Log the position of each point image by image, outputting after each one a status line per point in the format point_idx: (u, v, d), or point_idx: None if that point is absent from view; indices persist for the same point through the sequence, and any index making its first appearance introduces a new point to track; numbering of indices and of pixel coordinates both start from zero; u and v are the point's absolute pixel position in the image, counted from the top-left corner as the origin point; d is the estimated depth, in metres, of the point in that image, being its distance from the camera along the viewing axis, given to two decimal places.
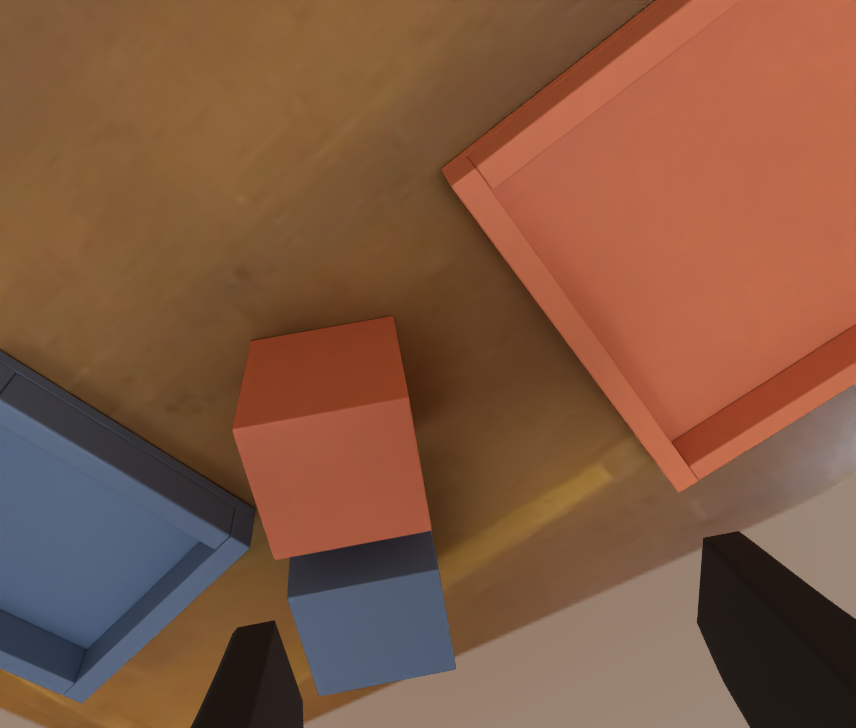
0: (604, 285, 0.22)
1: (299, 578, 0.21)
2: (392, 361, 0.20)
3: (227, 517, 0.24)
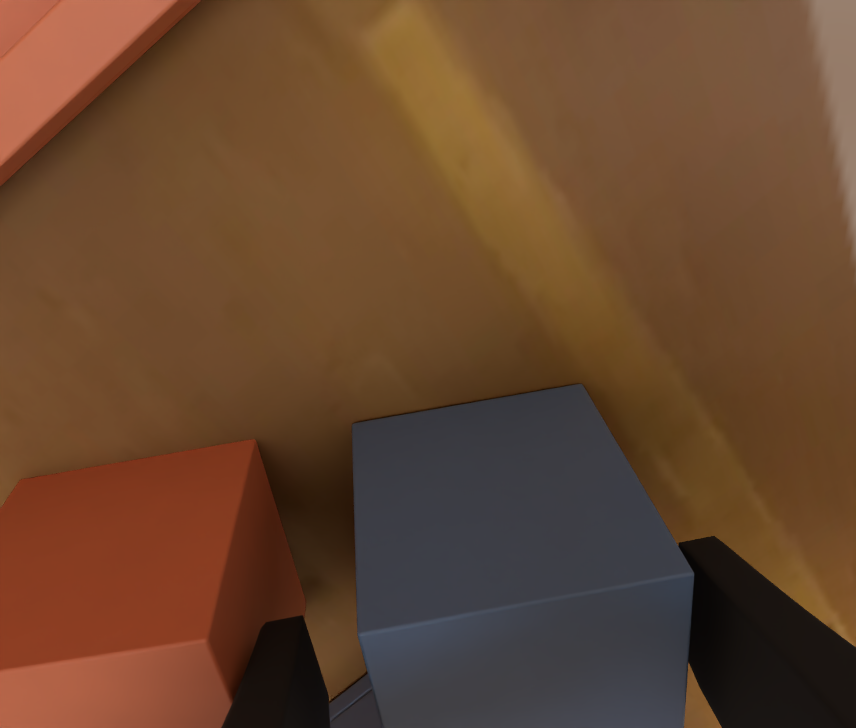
0: None
1: None
2: None
3: None
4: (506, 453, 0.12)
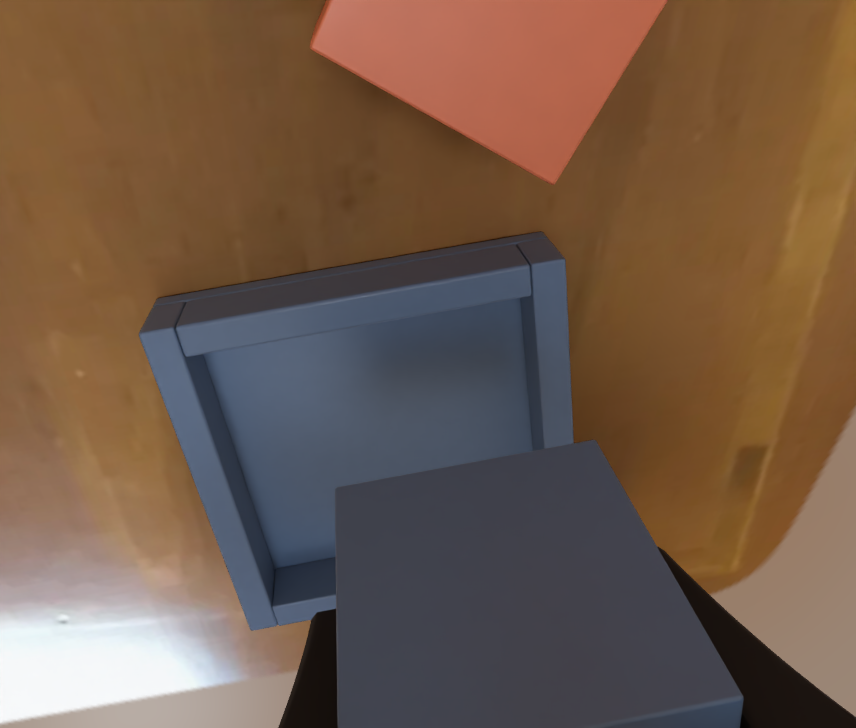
0: None
1: None
2: None
3: (512, 254, 0.17)
4: (511, 529, 0.10)
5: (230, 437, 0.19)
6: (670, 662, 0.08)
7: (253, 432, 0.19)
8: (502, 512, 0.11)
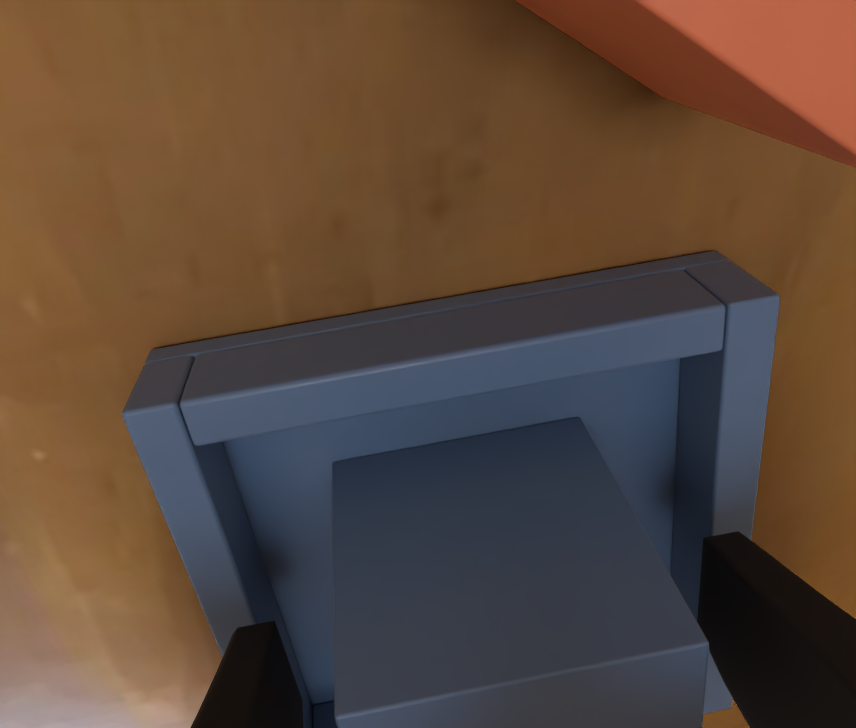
0: None
1: None
2: None
3: (689, 287, 0.11)
4: (499, 497, 0.11)
5: (256, 542, 0.13)
6: (643, 613, 0.09)
7: (288, 534, 0.13)
8: (490, 483, 0.11)
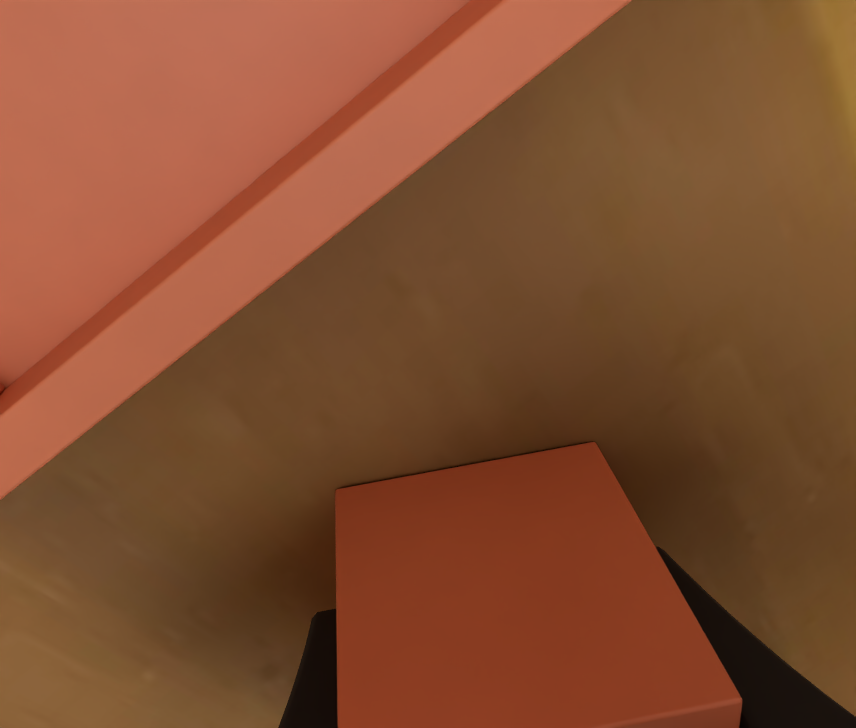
0: (226, 71, 0.08)
1: None
2: (338, 641, 0.10)
3: None
4: None
5: None
6: None
7: None
8: None
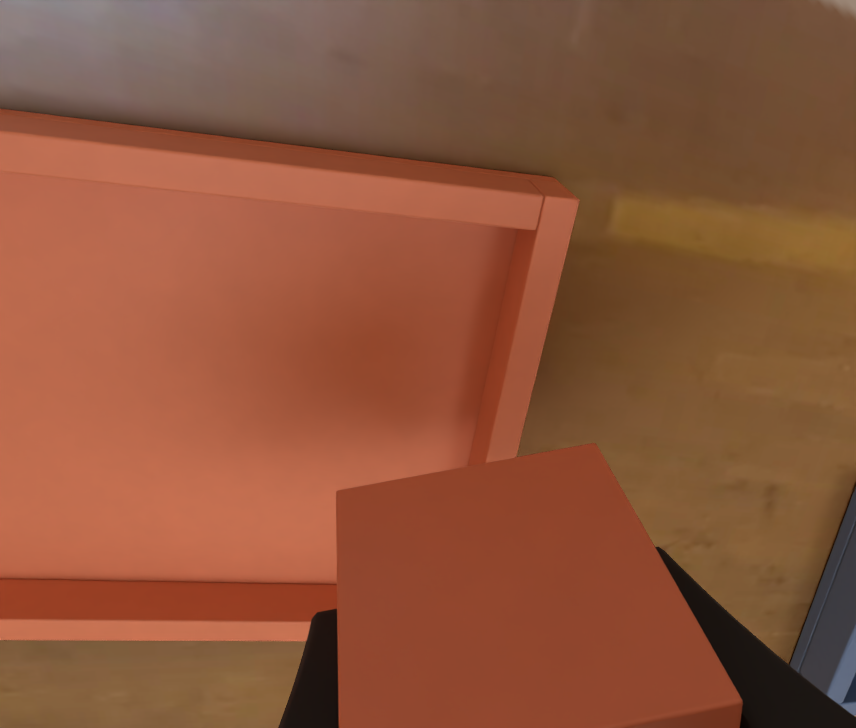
0: (431, 448, 0.20)
1: None
2: (340, 642, 0.10)
3: None
4: None
5: None
6: None
7: None
8: None
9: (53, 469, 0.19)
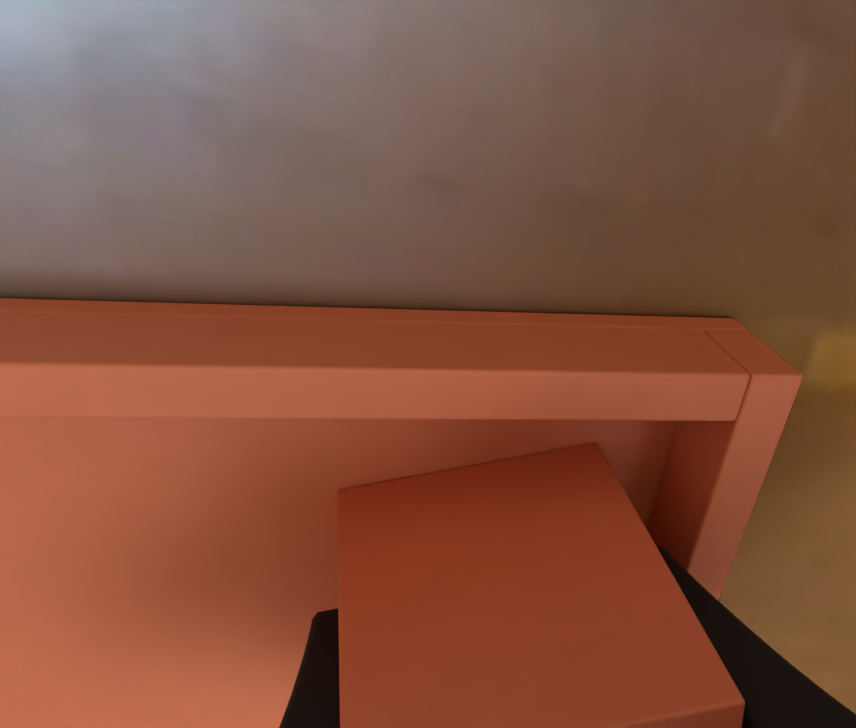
0: None
1: None
2: (341, 642, 0.10)
3: None
4: None
5: None
6: None
7: None
8: None
9: None
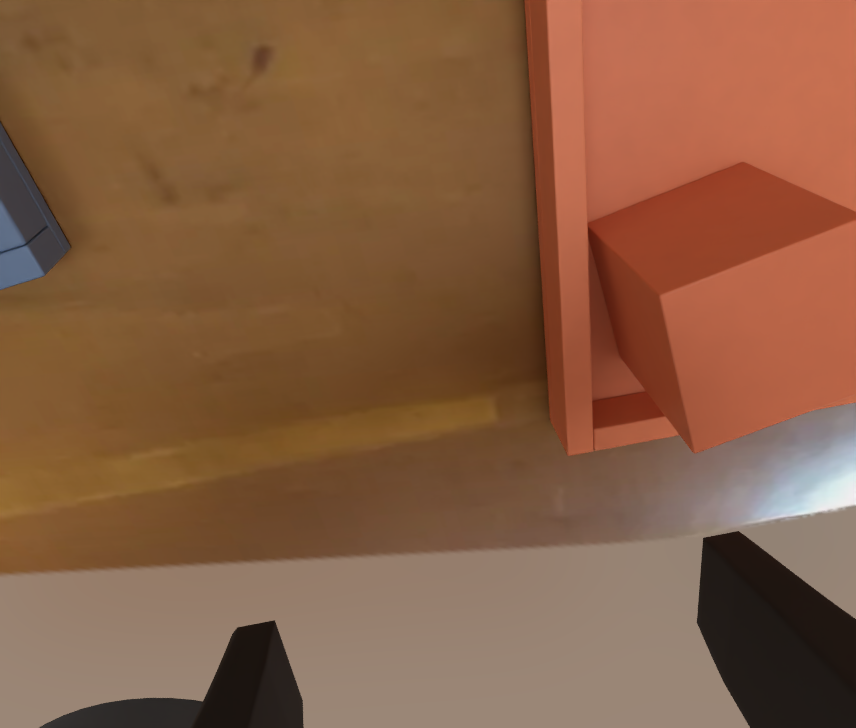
0: (611, 178, 0.19)
1: None
2: None
3: (33, 225, 0.17)
4: None
5: None
6: None
7: None
8: None
9: None
